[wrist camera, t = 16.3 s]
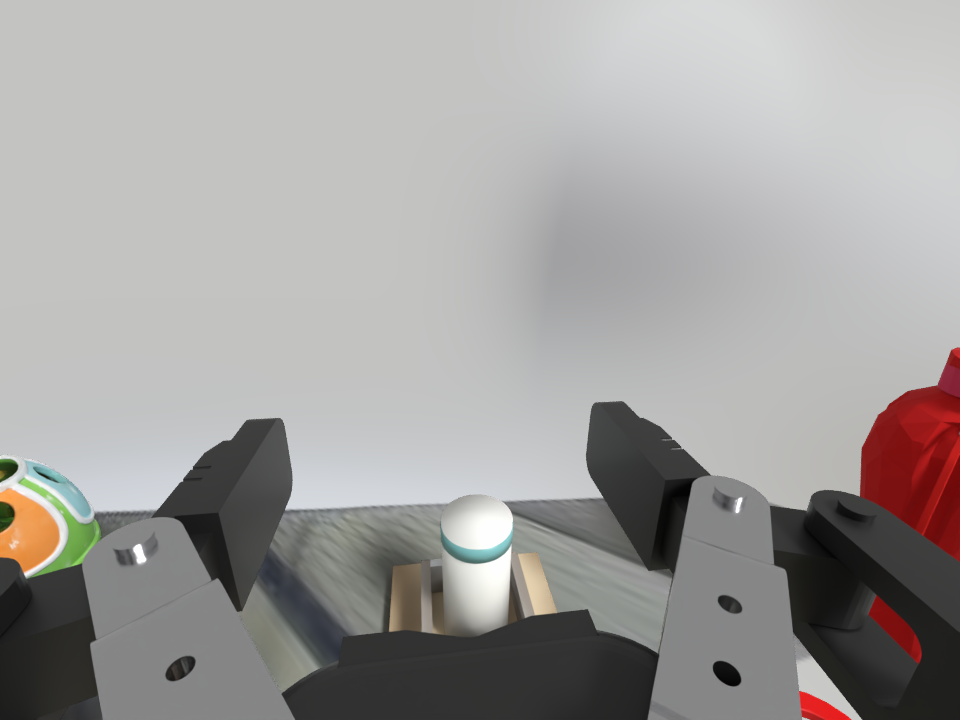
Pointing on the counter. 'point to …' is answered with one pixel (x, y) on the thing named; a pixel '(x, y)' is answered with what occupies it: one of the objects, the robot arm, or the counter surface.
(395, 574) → the wooden square holder
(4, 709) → the robot arm
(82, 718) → the counter surface
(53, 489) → the turtle holder
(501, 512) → the cylindrical container
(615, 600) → the counter surface
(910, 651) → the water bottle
